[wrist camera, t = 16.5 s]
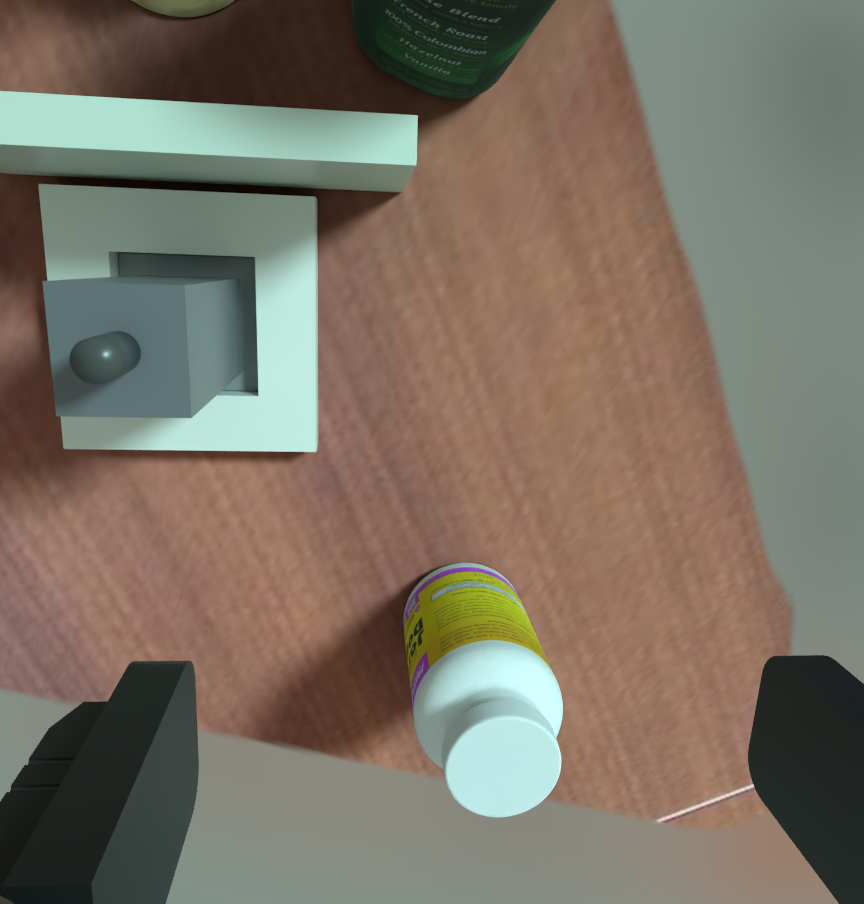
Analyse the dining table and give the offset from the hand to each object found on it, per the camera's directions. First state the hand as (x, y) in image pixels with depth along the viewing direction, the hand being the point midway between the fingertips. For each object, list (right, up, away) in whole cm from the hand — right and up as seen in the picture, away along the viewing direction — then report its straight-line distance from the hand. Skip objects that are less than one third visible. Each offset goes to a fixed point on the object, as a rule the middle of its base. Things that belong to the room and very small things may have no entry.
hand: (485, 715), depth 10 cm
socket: (-11, +11, +25) cm, 30 cm away
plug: (-12, +10, +25) cm, 29 cm away
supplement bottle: (+1, -5, +31) cm, 31 cm away
